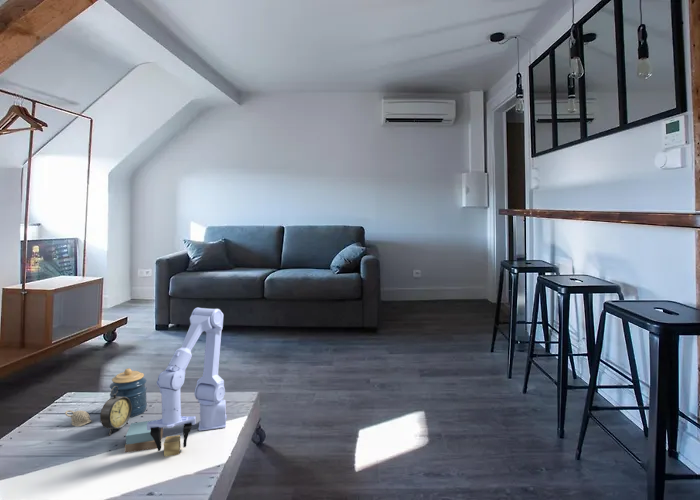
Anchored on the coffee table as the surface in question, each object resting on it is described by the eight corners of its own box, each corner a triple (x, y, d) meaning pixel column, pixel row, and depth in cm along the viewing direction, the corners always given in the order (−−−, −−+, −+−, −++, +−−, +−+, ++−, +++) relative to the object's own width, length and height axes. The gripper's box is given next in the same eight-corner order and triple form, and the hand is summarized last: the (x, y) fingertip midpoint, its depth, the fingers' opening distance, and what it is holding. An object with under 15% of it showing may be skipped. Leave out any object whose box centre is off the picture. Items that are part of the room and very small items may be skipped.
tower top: (159, 427, 145) (159, 419, 145) (156, 440, 136) (156, 431, 136) (131, 431, 142) (131, 423, 142) (126, 444, 134) (125, 435, 133)
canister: (145, 402, 172) (144, 361, 172) (148, 414, 161) (147, 370, 160) (110, 409, 166) (108, 366, 165) (110, 422, 155) (109, 376, 154)
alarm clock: (110, 437, 143) (109, 392, 142) (97, 436, 144) (96, 391, 143) (133, 423, 154) (132, 381, 153) (120, 422, 155) (119, 380, 154)
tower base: (163, 435, 146) (163, 426, 146) (158, 449, 136) (158, 440, 136) (132, 439, 143) (132, 430, 143) (125, 454, 133) (124, 445, 133)
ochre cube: (180, 447, 136) (180, 435, 136) (178, 454, 132) (178, 441, 132) (166, 449, 135) (165, 436, 135) (164, 456, 131) (163, 443, 131)
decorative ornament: (86, 426, 151) (86, 412, 151) (63, 426, 151) (63, 412, 151) (93, 421, 156) (92, 407, 155) (71, 421, 155) (70, 407, 155)
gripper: (144, 415, 127) (145, 457, 128) (193, 409, 131) (194, 450, 132) (148, 405, 134) (150, 446, 135) (195, 400, 138) (196, 439, 139)
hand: (172, 447), depth 134 cm, fingers open, 7 cm apart
